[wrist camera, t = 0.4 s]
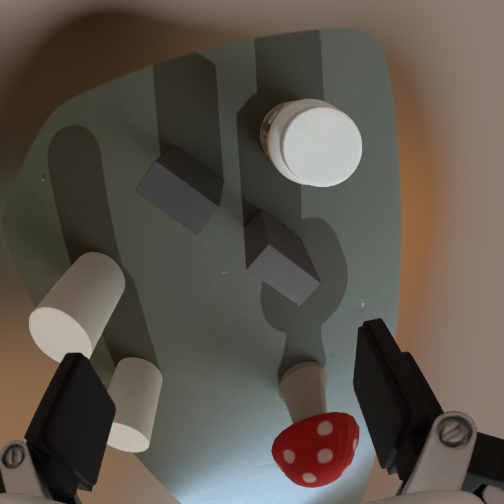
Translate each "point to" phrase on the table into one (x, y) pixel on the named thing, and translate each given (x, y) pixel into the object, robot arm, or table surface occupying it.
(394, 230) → the table surface
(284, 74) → the table surface
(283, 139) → the pill bottle
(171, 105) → the table surface
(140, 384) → the white cylinder
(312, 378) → the decorative mushroom
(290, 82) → the table surface
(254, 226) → the dark grey rectangular block
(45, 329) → the white cylinder
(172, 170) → the dark grey block
